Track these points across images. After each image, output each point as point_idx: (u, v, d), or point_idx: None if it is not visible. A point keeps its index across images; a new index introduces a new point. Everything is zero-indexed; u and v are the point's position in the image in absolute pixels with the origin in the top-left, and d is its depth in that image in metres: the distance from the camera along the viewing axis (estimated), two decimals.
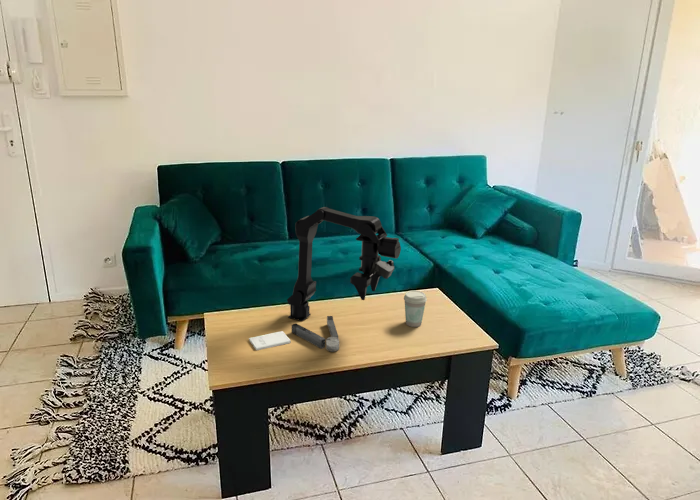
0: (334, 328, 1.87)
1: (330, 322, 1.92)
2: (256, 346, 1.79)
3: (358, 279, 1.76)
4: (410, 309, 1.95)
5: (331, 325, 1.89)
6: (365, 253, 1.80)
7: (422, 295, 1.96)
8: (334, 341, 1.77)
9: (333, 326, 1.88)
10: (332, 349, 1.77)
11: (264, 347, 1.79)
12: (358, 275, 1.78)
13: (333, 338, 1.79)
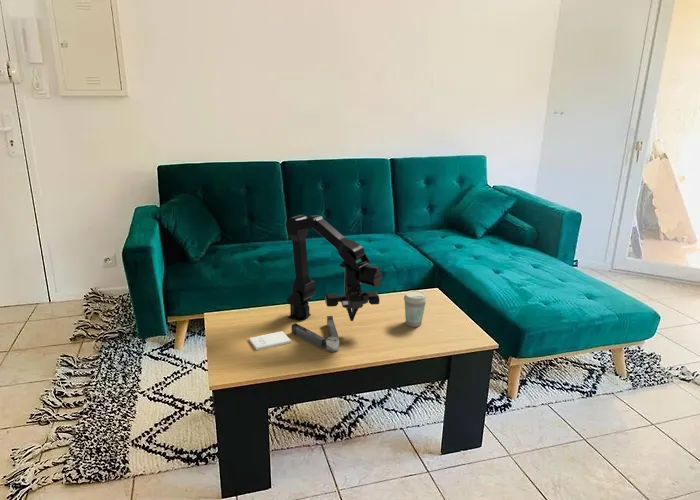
0: (334, 328, 1.87)
1: (330, 322, 1.92)
2: (256, 346, 1.79)
3: (326, 298, 1.85)
4: (410, 309, 1.95)
5: (331, 325, 1.89)
6: (347, 280, 1.82)
7: (422, 295, 1.96)
8: (334, 341, 1.77)
9: (333, 326, 1.88)
10: (332, 349, 1.77)
11: (264, 347, 1.79)
12: (329, 295, 1.86)
13: (333, 338, 1.79)
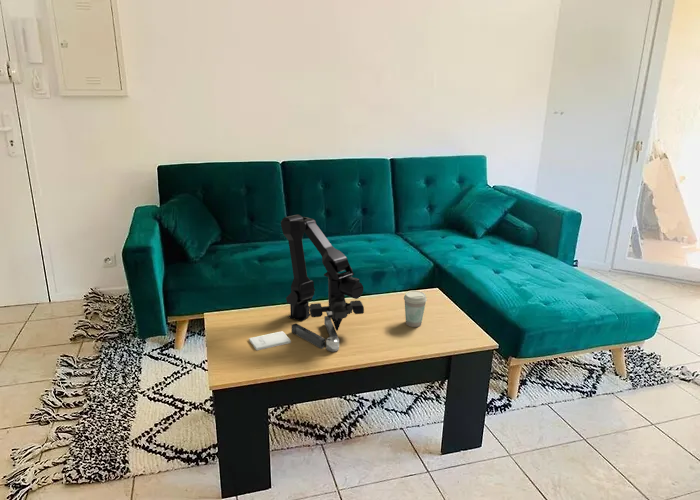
0: (333, 328, 1.87)
1: (328, 322, 1.92)
2: (256, 346, 1.79)
3: (310, 308, 1.85)
4: (410, 309, 1.95)
5: (329, 325, 1.89)
6: (329, 289, 1.83)
7: (422, 295, 1.96)
8: (334, 341, 1.77)
9: (331, 326, 1.88)
10: (332, 349, 1.77)
11: (264, 347, 1.79)
12: (314, 305, 1.86)
13: (333, 338, 1.79)
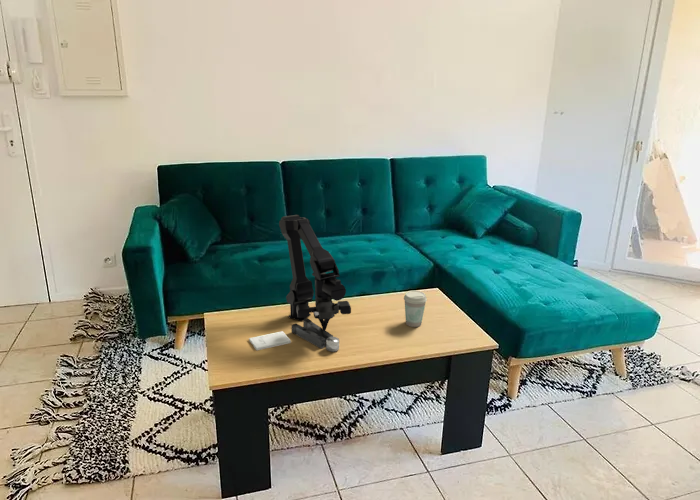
0: (322, 329, 1.86)
1: (312, 324, 1.90)
2: (256, 346, 1.79)
3: (297, 309, 1.84)
4: (410, 309, 1.95)
5: (316, 327, 1.88)
6: (315, 289, 1.83)
7: (422, 295, 1.96)
8: (335, 340, 1.78)
9: (319, 328, 1.87)
10: (335, 349, 1.77)
11: (264, 347, 1.79)
12: (301, 306, 1.85)
13: (332, 338, 1.79)
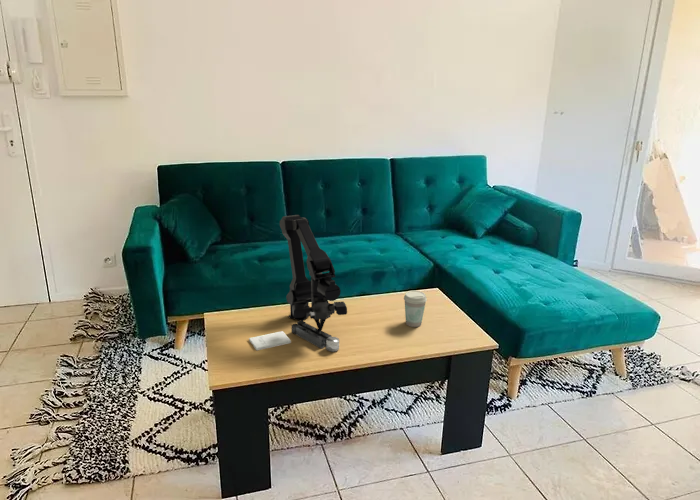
0: (318, 330, 1.86)
1: (307, 326, 1.88)
2: (256, 346, 1.79)
3: (293, 309, 1.84)
4: (410, 309, 1.95)
5: (312, 328, 1.87)
6: (311, 289, 1.82)
7: (422, 295, 1.96)
8: (336, 340, 1.78)
9: (315, 329, 1.86)
10: (336, 348, 1.77)
11: (264, 347, 1.79)
12: (297, 306, 1.84)
13: (331, 338, 1.79)
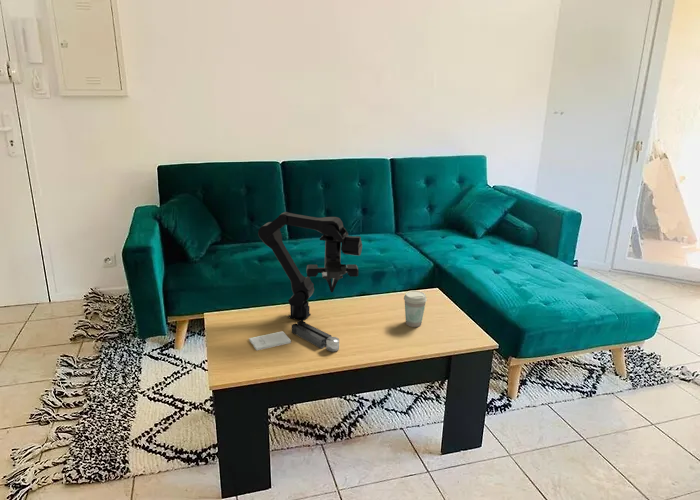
0: (318, 330, 1.86)
1: (307, 326, 1.88)
2: (256, 346, 1.79)
3: None
4: (410, 309, 1.95)
5: (312, 328, 1.87)
6: (329, 252, 1.89)
7: (422, 295, 1.96)
8: (336, 340, 1.78)
9: (315, 329, 1.86)
10: (336, 348, 1.77)
11: (264, 347, 1.79)
12: (310, 266, 1.93)
13: (331, 338, 1.79)
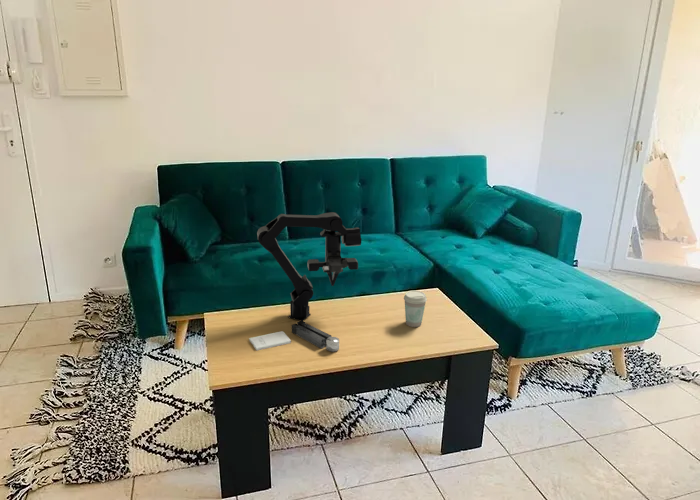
0: (318, 330, 1.86)
1: (307, 326, 1.88)
2: (256, 346, 1.79)
3: (308, 263, 1.98)
4: (410, 309, 1.95)
5: (312, 328, 1.87)
6: (333, 247, 1.95)
7: (422, 295, 1.96)
8: (336, 340, 1.78)
9: (315, 329, 1.86)
10: (336, 348, 1.77)
11: (264, 347, 1.79)
12: (311, 260, 1.98)
13: (331, 338, 1.79)
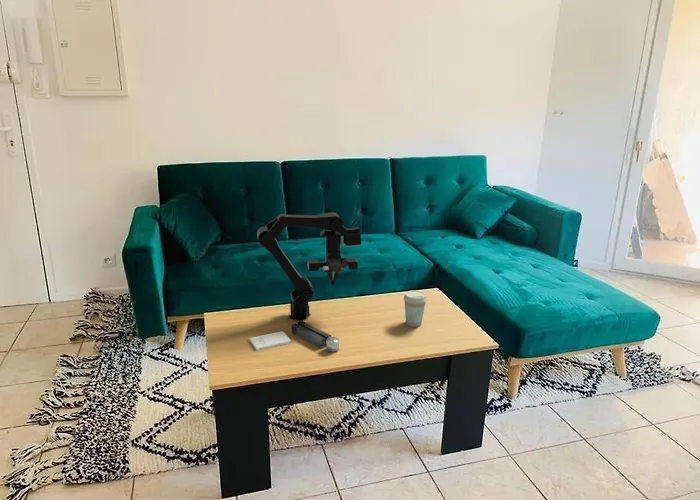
0: (318, 330, 1.86)
1: (307, 326, 1.88)
2: (256, 346, 1.79)
3: (308, 263, 1.98)
4: (410, 309, 1.95)
5: (312, 328, 1.87)
6: (333, 247, 1.95)
7: (422, 295, 1.96)
8: (336, 340, 1.78)
9: (315, 329, 1.86)
10: (336, 348, 1.77)
11: (264, 347, 1.79)
12: (311, 260, 1.98)
13: (331, 338, 1.79)
